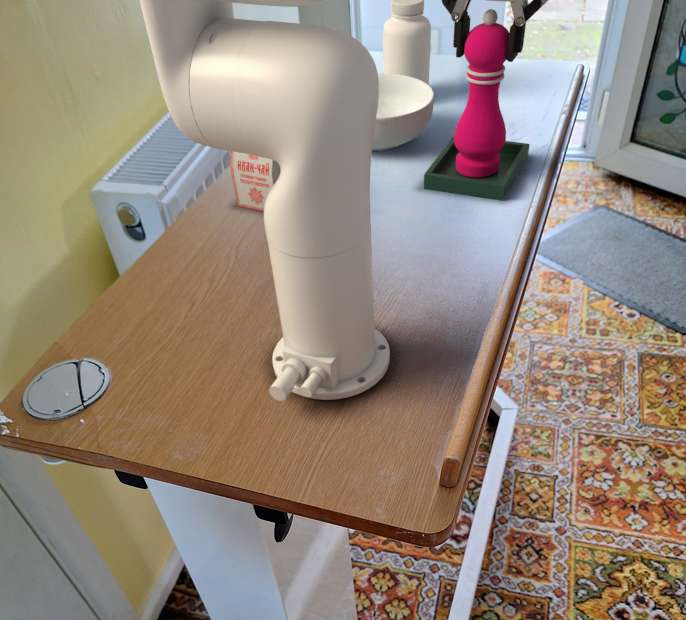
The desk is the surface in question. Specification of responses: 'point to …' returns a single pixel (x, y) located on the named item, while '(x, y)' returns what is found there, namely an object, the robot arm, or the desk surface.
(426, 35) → the pill bottle
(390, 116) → the cereal bowl
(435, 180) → the tray
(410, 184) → the desk surface
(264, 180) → the printed tea carton
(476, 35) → the pepper mill
